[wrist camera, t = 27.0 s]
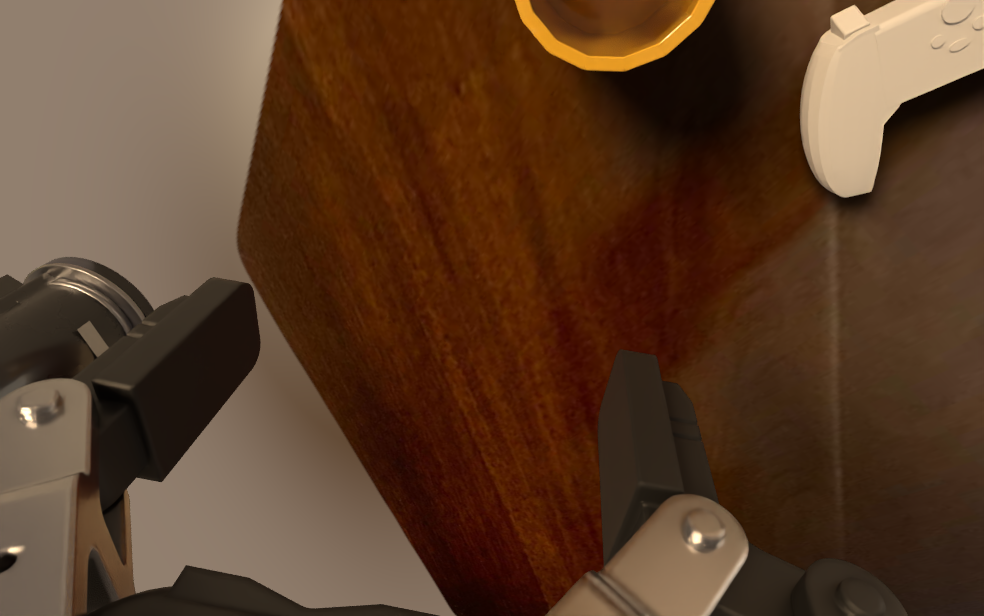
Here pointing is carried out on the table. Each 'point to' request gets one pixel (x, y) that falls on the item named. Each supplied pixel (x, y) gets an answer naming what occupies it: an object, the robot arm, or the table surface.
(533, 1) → the mug
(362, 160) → the table surface
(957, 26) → the game controller
